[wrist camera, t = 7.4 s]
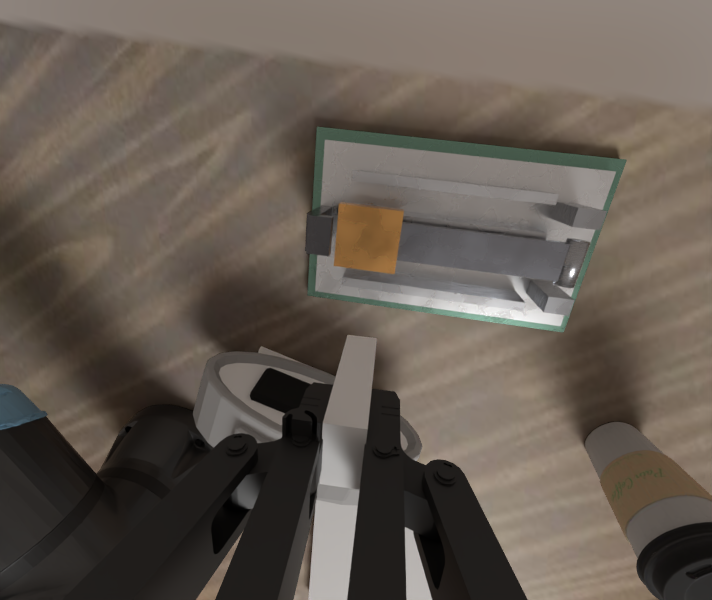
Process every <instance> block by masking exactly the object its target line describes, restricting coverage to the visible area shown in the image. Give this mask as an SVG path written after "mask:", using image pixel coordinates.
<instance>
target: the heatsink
mask: <svg viewBox="0 0 712 600" xmlns="http://www.w3.org/2000/svg"><path fill="white" fill-rule="evenodd" d="M626 161H627V160H625V159H615V158H606V157H597V156H587V155H578V154H568V153H559V152H550V151H540V150H531V149H522V148H512V147H503V146H494V145H484V144H475V143H466V142H456V141H447V140H437V139H428V138H419V137H409V136H400V135H391V134H381V133H372V132H363V131H353V130H344V129H335V128H325V127H317V133H316V151H315V169H314V187H313V205H312V211H310V212H308V213H307V227H306V246H305V251H306V253H307V254H310V259H309V277H308V296H315V297H322V298H329V299H336V300H343V301H350V302H357V303H364V304H370V305H377V306H384V307H391V308H398V309H405V310H412V311H419V312H426V313H433V314H440V315H446V316H453V317H460V318H467V319H474V320H481V321H488V322H495V323H502V324H509V325H515V326H522V327H529V328H536V329H543V330H550V331H557V332H564V330H565V327H566V324H567V321H568V319H569V316H570V313H571V311H572V308H573V305H574V302H575V300H576V297H577V294H578V291H579V289H580V286H581V283H582V281H583V278H584V275H585V272H586V270H587V267H588V264H589V262H590V259H591V256H592V253H593V251H594V248H595V245H596V242H597V240H598V237H599V234H600V232H601V229H602V226H603V223H604V221H605V218H606V215H607V213H608V210H609V207H610V204H611V202H612V199H613V196H614V193H615V191H616V188H617V185H618V183H619V180H620V177H621V174H622V172H623V169H624V166H625V163H626ZM340 202H346V203H355V204H363V205H371V206H379V207H388V208H396V209H404V215H403V221H402V222H407V223H416V224H424V225H432V226H440V227H448V228H456V229H464V230H472V231H480V232H488V233H496V234H504V235H512V236H520V237H528V238H537V239H545V240H553V241H561V242H566V239H567V238H575V239H581V240H585V241H588V242H590V245H589V248H588V251H587V254H586V256H585V259H584V262H583V265H582V268H581V270H580V273H579V276H578V279H577V281H576V284H575V287H574V288H565V287H561V286H557V285H555V284H553V283H552V281H550V280H542V279H535V278H527V277H519V276H512V275H504V274H496V273H489V272H481V271H474V270H466V269H458V268H451V267H443V266H436V265H428V264H420V263H413V262H405V261H398V260H397V261H396V267H395V274H390V273H382V272H375V271H367V270H360V269H352V268H345V267H337V266H334V257H335V245H336V233H337V221H338V208H339V203H340Z"/></svg>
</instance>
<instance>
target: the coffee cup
mask: <svg viewBox="0 0 712 600" xmlns="http://www.w3.org/2000/svg"><path fill="white" fill-rule="evenodd" d="M585 448H586V451H587V453H588V455H589V457H590V459H591V462H592V464H593V466H594V468H595V470H596V472H597V474H598V477H599V479H600V483H601V486H602V489H603V491H604V493H605V495H606V497H607V499H608V501H609V503H610V506H611V508H612V510H613V512H614V514H615V516H616V518H617V520H618V523H619V525H620V527H621V529H622V531H623V533H624V535H625V537H626V539H627V541H628V542H629V544H630V545H631V546H632V548H633V550H634V552H635V554H636V556H637V558H638V560H637V566H636V567H637V573H638V576H639V578H640V579H641V581H642V582H643V583H644V584H645V585H646V587H647V588H648V590H649V591H650V592H651V593H652V594H653V595H654V596H655V597H656V598H658V599H659V600H712V496H711V495H710V494H709V493H708V492H707V491H706V490H705V489H704V488H703V487H701V486H700V485H699V484H698V483H697V482H696V481H695V480H694V479H693V478H692V477H691V476H690V475H688V474H687V473H686V472H685V471H684V470H683V469H682V468H681V467H680V466H679V465H678V464H677V463H675V462H674V461H673V460H672V459H671V458H669V457H668V456H666V455H665V454H663V453H662V452H661V451H660V450H659V449H658V448H657V447H656V446H655V445H654V444H653V443H651V442H650V441H649V440H648V439H647V438H646V437H645V436H644V435H643V434H642V433H641V432H640V431H638V430H637V429H636V428H635V427H633V426H631V425H629V424H627V423H623V422H611V423H607V424H604V425H602V426H600V427H598V428H596V429H595V430H593V431H592V432H591V433H590V434H589V435H588V437H587V439H586V441H585Z"/></svg>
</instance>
